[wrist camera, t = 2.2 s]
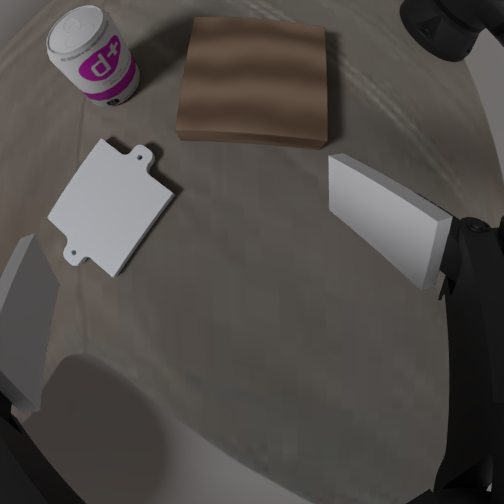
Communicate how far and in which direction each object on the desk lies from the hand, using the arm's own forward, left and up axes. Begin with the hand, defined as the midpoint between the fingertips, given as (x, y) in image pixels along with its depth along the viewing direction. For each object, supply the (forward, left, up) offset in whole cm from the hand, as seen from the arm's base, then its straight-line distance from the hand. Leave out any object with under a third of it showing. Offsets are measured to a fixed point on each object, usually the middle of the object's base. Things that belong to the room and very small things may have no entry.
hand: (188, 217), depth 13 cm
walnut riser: (-21, +3, -27) cm, 34 cm away
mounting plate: (-3, -15, -28) cm, 32 cm away
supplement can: (-21, -17, -27) cm, 38 cm away
